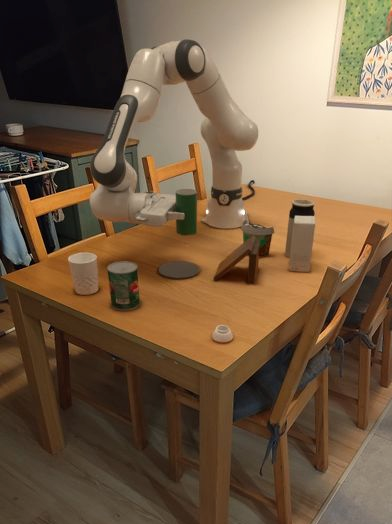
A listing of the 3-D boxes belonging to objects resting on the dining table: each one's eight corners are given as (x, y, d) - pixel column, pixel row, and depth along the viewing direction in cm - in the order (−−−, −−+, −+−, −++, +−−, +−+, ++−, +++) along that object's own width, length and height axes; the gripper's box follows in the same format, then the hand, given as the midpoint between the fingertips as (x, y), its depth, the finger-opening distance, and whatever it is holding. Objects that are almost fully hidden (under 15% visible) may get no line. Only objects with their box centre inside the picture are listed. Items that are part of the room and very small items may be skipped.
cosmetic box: (309, 273, 146) (316, 224, 137) (287, 271, 147) (293, 222, 138) (309, 262, 152) (316, 215, 144) (289, 261, 154) (294, 214, 145)
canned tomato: (108, 300, 130) (103, 263, 124) (135, 295, 132) (132, 259, 126) (115, 313, 124) (111, 275, 118) (143, 307, 126) (141, 270, 120)
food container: (232, 251, 160) (233, 223, 155) (243, 247, 164) (245, 219, 159) (261, 261, 153) (263, 231, 148) (272, 256, 157) (274, 227, 152)
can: (188, 238, 144) (159, 207, 141) (218, 211, 137) (188, 178, 134) (184, 245, 139) (154, 213, 135) (214, 217, 132) (183, 183, 129)
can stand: (219, 265, 151) (220, 232, 145) (258, 268, 148) (260, 235, 142) (213, 280, 141) (213, 245, 135) (254, 284, 139) (256, 249, 133)
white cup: (90, 281, 140) (86, 250, 135) (106, 290, 135) (102, 257, 130) (68, 289, 136) (62, 257, 130) (82, 298, 131) (77, 265, 125)
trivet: (164, 261, 153) (164, 259, 153) (203, 264, 151) (203, 262, 151) (153, 277, 143) (153, 275, 143) (194, 281, 141) (194, 279, 140)
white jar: (207, 338, 113) (223, 346, 110) (208, 328, 112) (224, 335, 109) (220, 330, 116) (236, 337, 113) (221, 320, 115) (237, 327, 112)
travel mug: (298, 261, 153) (305, 206, 143) (280, 254, 158) (285, 201, 148) (313, 255, 158) (321, 202, 148) (294, 249, 163) (301, 196, 153)
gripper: (130, 208, 128) (179, 211, 126) (151, 189, 145) (195, 192, 143) (132, 230, 132) (179, 234, 130) (152, 209, 149) (194, 212, 146)
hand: (187, 212), depth 136 cm, fingers closed on can, 6 cm apart
